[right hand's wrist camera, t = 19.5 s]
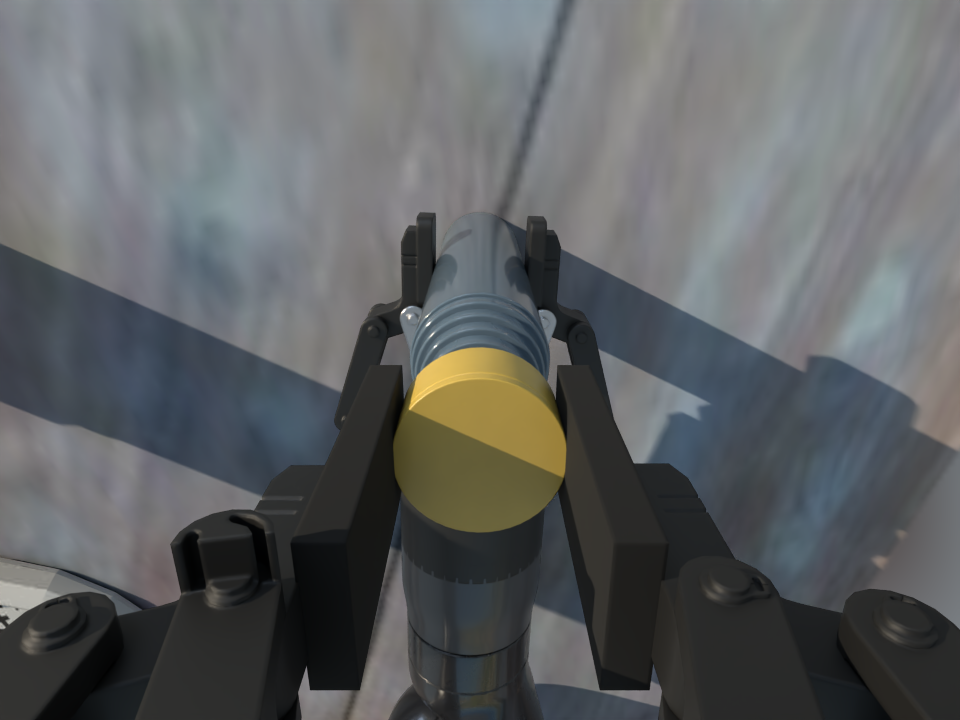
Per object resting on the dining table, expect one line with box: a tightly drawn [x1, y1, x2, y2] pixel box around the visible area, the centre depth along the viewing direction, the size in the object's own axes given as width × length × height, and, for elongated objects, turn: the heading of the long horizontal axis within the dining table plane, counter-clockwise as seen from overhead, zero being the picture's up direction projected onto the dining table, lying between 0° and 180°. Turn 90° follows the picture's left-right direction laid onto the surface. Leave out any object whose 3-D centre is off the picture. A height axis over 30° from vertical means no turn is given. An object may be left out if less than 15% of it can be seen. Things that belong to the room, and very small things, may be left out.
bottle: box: [410, 212, 550, 381], centre depth 24 cm, size 4×4×22 cm
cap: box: [393, 347, 567, 532], centre depth 14 cm, size 4×4×2 cm
